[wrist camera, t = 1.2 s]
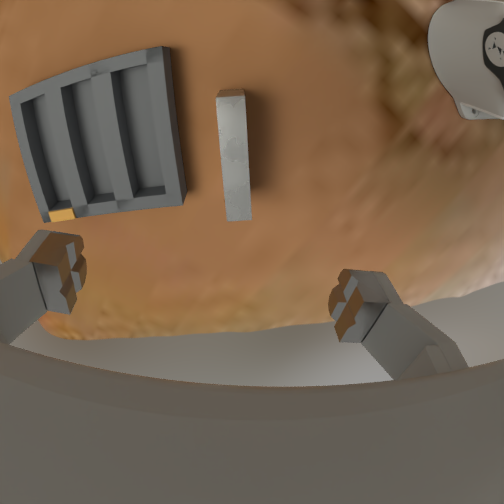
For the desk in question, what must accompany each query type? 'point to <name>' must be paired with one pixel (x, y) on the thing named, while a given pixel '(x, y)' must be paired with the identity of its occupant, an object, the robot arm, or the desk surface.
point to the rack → (102, 137)
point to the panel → (234, 153)
